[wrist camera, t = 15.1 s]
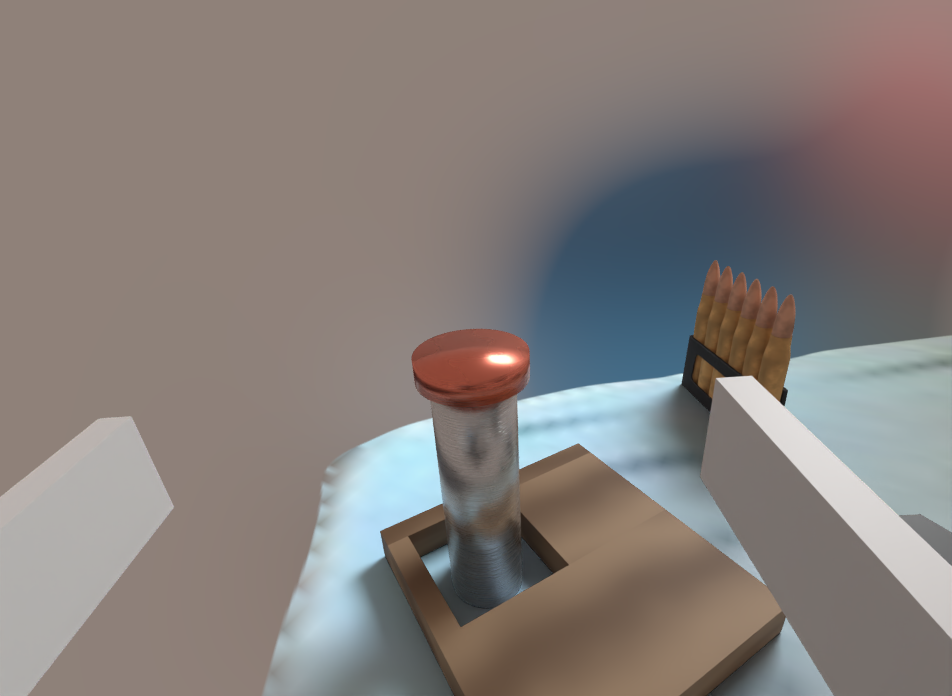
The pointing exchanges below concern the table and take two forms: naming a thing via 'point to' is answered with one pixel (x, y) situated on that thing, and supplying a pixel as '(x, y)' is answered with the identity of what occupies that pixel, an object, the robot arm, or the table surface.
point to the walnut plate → (593, 596)
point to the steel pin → (477, 454)
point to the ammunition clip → (738, 337)
